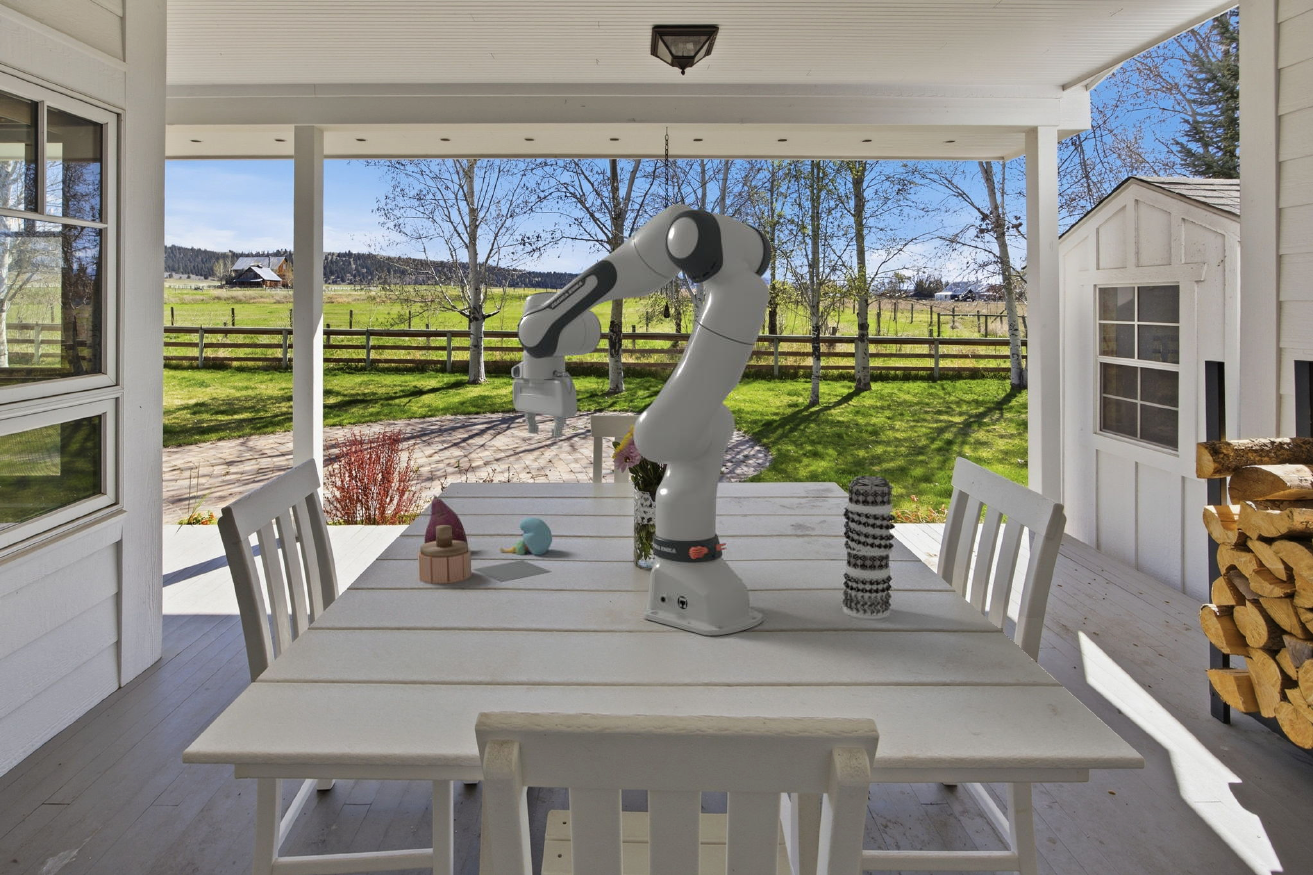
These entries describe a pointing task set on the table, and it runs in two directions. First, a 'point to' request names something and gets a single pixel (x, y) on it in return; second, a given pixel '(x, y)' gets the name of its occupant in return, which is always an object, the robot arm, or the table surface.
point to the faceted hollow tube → (444, 568)
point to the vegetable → (444, 521)
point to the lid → (444, 544)
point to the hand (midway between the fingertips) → (544, 435)
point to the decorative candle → (868, 548)
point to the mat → (512, 570)
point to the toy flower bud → (532, 538)
